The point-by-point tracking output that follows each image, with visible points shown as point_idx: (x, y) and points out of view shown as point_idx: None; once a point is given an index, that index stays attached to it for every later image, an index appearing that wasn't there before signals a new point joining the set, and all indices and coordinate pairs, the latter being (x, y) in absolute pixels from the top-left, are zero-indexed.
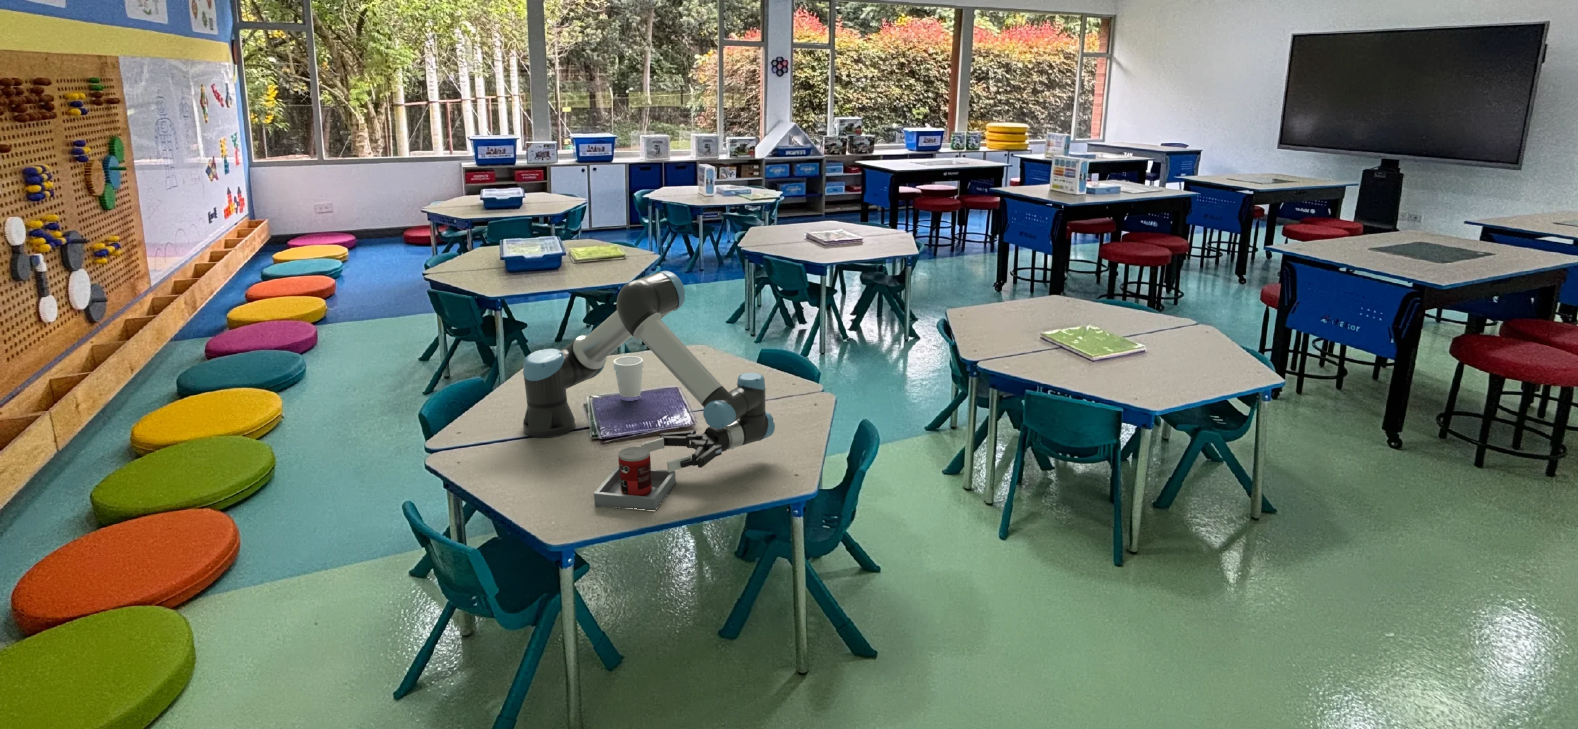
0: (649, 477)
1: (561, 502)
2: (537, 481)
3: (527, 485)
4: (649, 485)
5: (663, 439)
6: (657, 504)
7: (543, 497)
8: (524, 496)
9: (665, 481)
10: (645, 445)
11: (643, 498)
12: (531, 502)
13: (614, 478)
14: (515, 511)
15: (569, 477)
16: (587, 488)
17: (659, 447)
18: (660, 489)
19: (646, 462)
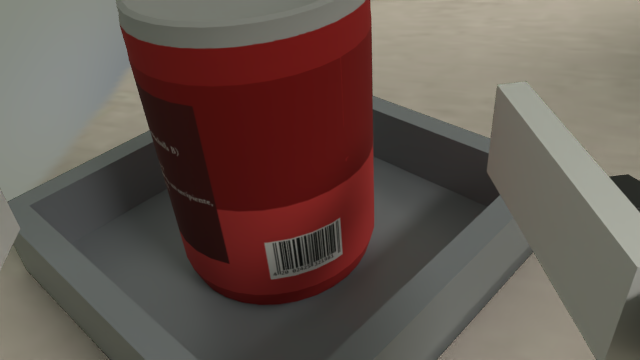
0: (174, 194)
1: (385, 63)
2: (599, 38)
3: (571, 22)
4: (184, 237)
5: (629, 273)
6: (35, 271)
7: (453, 39)
8: (484, 15)
9: (140, 327)
10: (509, 119)
11: (61, 175)
12: (431, 22)
13: (439, 156)
14: (391, 2)
15: (614, 96)
16: (469, 123)
17: (571, 294)
18: (64, 264)
19: (130, 61)
